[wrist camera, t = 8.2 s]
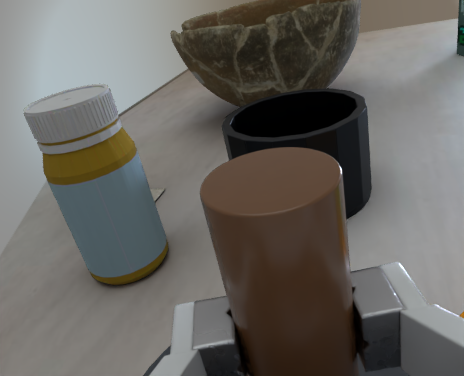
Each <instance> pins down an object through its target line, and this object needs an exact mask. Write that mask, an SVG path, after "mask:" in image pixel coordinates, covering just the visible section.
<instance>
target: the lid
mask: <svg viewBox="0 0 464 376" xmlns="http://www.w3.org/2000/svg"><path fill="white" fill-rule="evenodd" d="M200 197H201V201H202V205H203V209H204V212H205V216H206V220H207V224H208V227H209V231H210V235H211V239H212V242H213V246H214V250H215V254H216V257H217V261H218V265H219V269H220V272H221V276H222V280H223V284H224V287H225V291H226V295H227V299H228V302H229V306H230V310H231V314H232V317H233V321H234V324H235V328H236V331H237V335H238V339H239V344H240V347H241V351H242V354H243V358H244V361H245V365H246V369H247V374H248V376H410V375H409V374H407V373H406V372H405V371H404V370H402V369H401V367H395V368H388V369H382V370H376V371H369V372H365V369H364V367H363V365H362V362H361V360H360V357H359V355H358V353H357V343H356V331H355V319H354V307H353V295H352V283H351V270H350V258H349V246H348V234H347V222H346V210H345V198H344V186H343V174H342V169H341V167H340V165H339V163H338V162H337V161H336V160H335V159H334V158H333V157H331V156H330V155H328V154H326V153H324V152H321V151H318V150H314V149H308V148H299V147H282V148H272V149H265V150H260V151H256V152H252V153H248V154H245V155H242V156H239V157H236V158H234V159H232V160H230V161H228V162H226V163H224V164H222V165H220V166H219V167H217V168H216V169H215V170H213V171H212V172H211V173H210V174H209V175H208V176H207V177H206V178H205V179H204V181H203V183H202V185H201V189H200ZM170 350H171V346H169V347H168V348H167V349H166V350H165V351H164V352H163V353H162V354H161V355H160V357H159V358H158V359H157V360H156V361H155V362H154V363H153V364H152V365H151V366H150V367H149V369H148V370H147V371H146V373H145V374H144V375H143V376H149V375H150V374H151V372H152V371H153V370H154V369H155V367H156V366H157V365H158V364H159V362H160V361H161V360H162V358H163V357H164V356H166V355H170Z"/></svg>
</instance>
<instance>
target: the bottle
mask: <svg viewBox="0 0 464 376" xmlns="http://www.w3.org/2000/svg"><path fill="white" fill-rule="evenodd" d="M23 111H24V116H25V118H26V120H27V122H28V125H29V127H30V129H31V131H32V133H33V135H34V138H35V139H36V140H37V141H38V142H37V144H38V146H39V148H40V150H41V151H42V152H43V168H44V174H45V176H46V178H47V181H48V183H49V185H50V188H51V190H52V192H53V194H54V196H55V198H56V200H57V203H58V205H59V207H60V209H61V211H62V213H63V216H64V218H65V220H66V222H67V224H68V226H69V229H70V231H71V233H72V235H73V237H74V239H75V242H76V244H77V246H78V248H79V250H80V252H81V254H82V257H83V259H84V261H85V263H86V265H87V267H88V270H89V271H90V273H91V275H92V277H93V278H95V279H96V280H97V281H100V282H103V283H107V284H112V285H121V284H127V283H131V282H135V281H137V280H139V279H141V278H144V277H146V276H147V275H149V274H150V273H151V272H153V271H154V270H155V269H156V268H157V267H158V266H159V265H160V264H161V263H162V261H163V259H164V257H165V255H166V253H167V251H168V242H167V239H166V235H165V232H164V229H163V226H162V223H161V220H160V217H159V214H158V211H157V208H156V205H155V202H154V199H153V196H152V193H151V191H150V188H149V185H148V182H147V179H146V176H145V173H144V170H143V167H142V164H141V161H140V158H139V155H138V152H137V149H136V147H135V144H134V141H133V140H132V139H131V138H130V136H129V135H128V134H127V133H126V131H125V130H124V129H123V128H122V124H121V121H120V118H119V116H118V111H117V108H116V105H115V102H114V99H113V96H112V93H111V90H110V88H108V85H105V84H94V85H87V86H82V87H77V88H73V89H69V90H65V91H62V92H59V93H56V94H53V95H50V96H47V97H45V98H42V99H40V100H37V101H35V102H33V103H31V104H30V105H28V106H27V107H25V108H24V110H23Z"/></svg>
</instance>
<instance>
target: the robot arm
mask: <svg viewBox="0 0 464 376" xmlns="http://www.w3.org/2000/svg"><path fill="white" fill-rule="evenodd" d="M351 283H352V295H353V307H354V319H355V331H356V343H357V353H358V355H359V357H360V360H361V362H362V365H363V367H364V369H365V372H369V371H376V370H382V369H388V368H395V367H401V369H402V370H404V371H405V372H406V373H407V374H409V375H410V376H464V318H462V317H460V316H458V315H456V314H454V313H452V312H450V311H448V310H446V309H444V308H442V307H440V306H438V305H436V304H435V305H429V304H428V302H427V301H426V300H425V298H424V297H423V295H422V294H421V292H420V291H419V289H418V288H417V286H416V285H415V284H414V282H413V281H412V279H411V278H410V276H409V275H408V273H407V272H406V270H405V269H404V268H403V266H402V265H401V263H399V262H394V263H389V264H384V265H380V266H378V267H372V268H367V269H362V270H357V271H352V272H351ZM149 376H248V374H247V369H246V365H245V361H244V358H243V354H242V351H241V347H240V344H239V339H238V335H237V331H236V328H235V324H234V321H233V317H232V314H231V310H230V306H229V302H228V299H227V296H223V297H217V298H211V299H205V300H199V301H195V302H190V303H184V304H178V305H176V306H175V309H174V316H173V328H172V339H171V350H170V355H166V356H164V357H163V358H162V360H161V361H160V362H159V364H158V365H157V366H156V367H155V369H154V370H153V371H152V372H151V374H150V375H149Z"/></svg>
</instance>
